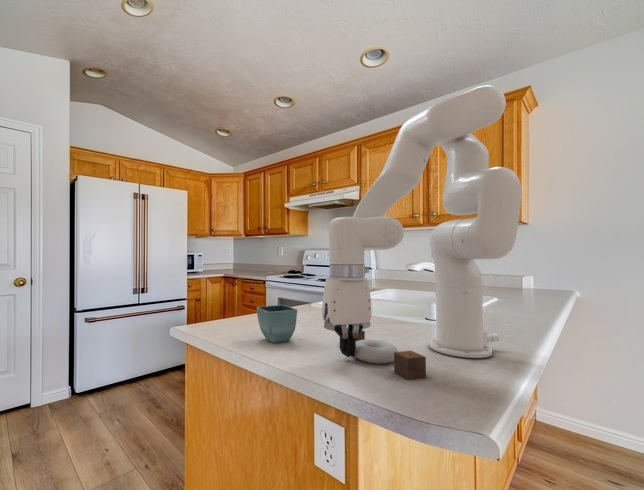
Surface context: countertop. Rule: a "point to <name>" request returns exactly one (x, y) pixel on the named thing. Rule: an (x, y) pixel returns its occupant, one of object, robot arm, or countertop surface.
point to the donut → (375, 351)
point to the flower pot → (277, 322)
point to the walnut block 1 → (361, 336)
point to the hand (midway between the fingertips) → (347, 354)
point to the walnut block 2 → (410, 364)
